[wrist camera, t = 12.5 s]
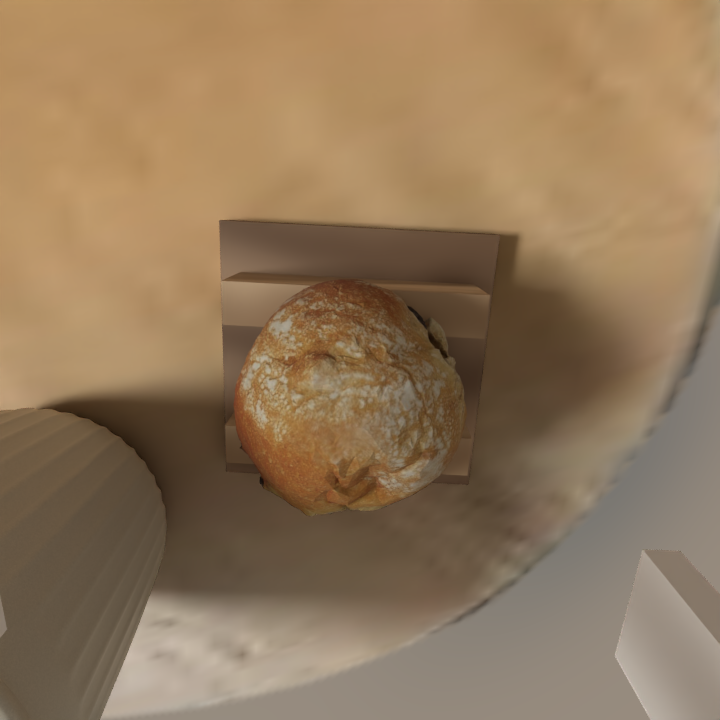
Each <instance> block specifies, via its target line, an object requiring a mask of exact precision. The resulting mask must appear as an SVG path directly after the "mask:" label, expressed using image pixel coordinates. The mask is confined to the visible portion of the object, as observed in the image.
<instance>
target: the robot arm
mask: <svg viewBox="0 0 720 720" xmlns="http://www.w3.org/2000/svg"><path fill="white" fill-rule="evenodd" d="M6 630H7V627H6V622H5V617H4V612H3V607H2V602H1V597H0V637H1V636H2V635H3V634H4V633H5V631H6ZM615 657H616V659H617V661H618V663H619V664H620V666H621V668H622V669H623V671H624V673H625V675H626V677H627V679H628V680H629V682H630V684H631V686H632V688H633V689H634V691H635V693H636V695H637V697H638V698H639V700H640V701H641V703H642V705H643V707H644V709H645V711H646V712H647V714H648V716H649V718H650V720H720V594H719V593H718V592H717V591H716V589H715V588H714V587H713V586H712V585H711V584H710V583H709V582H708V581H707V580H706V578H705V577H704V576H703V575H702V574H701V573H700V572H699V571H698V570H697V569H696V568H695V566H694V565H693V564H692V563H691V562H690V561H689V560H688V559H687V558H686V557H685V556H684V554H682V552H681V551H669V550H648V549H643V550H642V553H641V557H640V561H639V565H638V569H637V573H636V576H635V580H634V584H633V588H632V592H631V595H630V599H629V603H628V607H627V611H626V615H625V619H624V622H623V626H622V630H621V634H620V638H619V641H618V645H617V649H616V653H615Z"/></svg>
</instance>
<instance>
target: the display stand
mask: <svg viewBox="0 0 720 720" xmlns="http://www.w3.org/2000/svg"><path fill="white" fill-rule="evenodd" d="M219 224H220V260H221V303H222V332H223V368H224V404H225V447H226V472H244V473H260V472H259V471H258V469H257V468H256V466H255V465H254V463H253V461H252V460H251V458H249V456H248V454H246V453H245V452H244V451H243V450H242V449H240V447H241V441H240V440H239V438H238V434H237V431H236V423H235V412H234V406H233V404H234V397H235V387H236V383H237V380H238V377H239V375H240V372H241V370H242V368H243V365H244V363H245V361H246V357H247V355H248V353H249V351H250V350H251V348H252V347H253V345H254V343H255V340H256V338H257V337H258V335H259V334H260V333H261V331H262V329H263V327H264V326H265V324H266V323H267V321H268V320H269V319H270V317H271V316H272V315H273V314H274V313H275V312H276V310H277V309H278V308H279V307H280V306H281V305H282V304H283V303H284V302H285V301H286V300H288V299H289V298H291V297H292V296H293V295H295V294H297V293H299V292H300V291H301V290H303V289H305V288H307V287H310V286H312V285H315V284H318V283H322V282H326V281H330V280H338V279H358V280H363V281H366V282H369V283H371V284H374V285H377V286H379V287H382V288H385V289H388V290H390V291H392V292H393V293H394V294H396V295H398V296H399V297H401V298H402V299H403V300H404V301H405V303H406V305H407V306H410V307H412V308H413V309H414V310H415V311H417V312H418V314H419V315H420V316H421V317H422V318H423V321H424V322H425V321H426V320H427V319H429V318H430V317H431V318H433V319H434V320H435V321H436V322H437V323H438V324H439V325H440V326H441V327H442V329H443V330H444V333H445V336H446V340H447V343H448V355H449V356H451V357H453V358H455V362H456V364H455V370H456V372H457V373H458V375H459V376H460V379H461V382H462V384H463V388H464V401H465V404H466V410H467V417H466V421H465V426H464V430H463V434H462V437H461V440H460V443H459V446H458V449H457V452H456V454H455V456H454V458H453V460H452V461H451V462H450V464H449V465H448V467H447V468H446V469H445V471H444V472H443V473H442V474H441V475H440V476H439V477H437V478H436V479H435V480H434V481H432V482H431V483H447V484H466V485H468V484H469V476H470V468H471V460H472V452H473V444H474V436H475V428H476V420H477V412H478V405H479V397H480V389H481V381H482V373H483V365H484V357H485V349H486V341H487V333H488V325H489V317H490V310H491V302H492V294H493V286H494V278H495V270H496V262H497V254H498V246H499V238H500V235H495V234H477V233H458V232H440V231H421V230H402V229H383V228H364V227H345V226H327V225H308V224H289V223H270V222H251V221H232V220H219Z"/></svg>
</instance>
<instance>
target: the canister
mask: <svg viewBox="0 0 720 720" xmlns="http://www.w3.org/2000/svg"><path fill="white" fill-rule="evenodd" d="M165 515H166V509H165V505H164V503H163V502H162V493H161V490H160V489H159V488H158V486H157V485H156V482H155V476H154V475H153V474H152V473H151V472H150V471H149V469H148V468H147V466H146V462H145V461H144V460H142V459H141V458H140V457H139V456H138V455H137V454H136V452H135V449H134V448H131V447H130V446H128V445H127V444H126V443H125V442H124V441H123V440H122V438H121V437H119V436H116V435H114V434H113V433H111V432H110V431H109V430H108V429H107V427H103V426H99V425H97V424H95V423H94V422H92V421H91V420H90V419H87V418H80V417H77V416H76V415H74V414H72V413H66V412H64V413H62V412H58V411H56V410H53V409H40V410H38V409H34V408H21V409H17V410H2V411H0V597H1V602H2V607H3V612H4V617H5V622H6V627H7V630H6V631H5V633H4V634H3V635H2V636H1V637H0V720H100V718H101V716H102V713H103V711H104V708H105V706H106V703H107V701H108V699H109V696H110V694H111V691H112V689H113V687H114V684H115V682H116V679H117V677H118V675H119V672H120V670H121V667H122V665H123V663H124V660H125V658H126V655H127V653H128V650H129V648H130V645H131V643H132V640H133V638H134V635H135V633H136V630H137V628H138V625H139V622H140V620H141V617H142V614H143V612H144V609H145V606H146V604H147V601H148V598H149V596H150V593H151V590H152V588H153V585H154V582H155V580H156V577H157V574H158V571H159V567H160V564H161V561H162V558H163V554H164V550H165V537H166V533H167V522H166V519H165Z"/></svg>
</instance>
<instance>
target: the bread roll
mask: <svg viewBox="0 0 720 720" xmlns="http://www.w3.org/2000/svg"><path fill="white" fill-rule="evenodd" d="M455 364H456V362H455V358H453V357H451V356H449V355H448V343H447V340H446V336H445V333H444V330H443V329H442V327H441V326H440V325H439V324H438V323H437V322H436V321H435V320H434V319H433V318H431V317H430V318H429V319H427V320H426V321H425V322H424V321H423V318H422V317H421V316H420V315H419V314H418V312H417V311H415V310H414V309H413V308H412V307H410V306H407V305H406V303H405V301H404V300H403V299H402V298H401V297H399V296H398V295H396V294H394V293H393V292H392V291H390V290H388V289H385V288H382V287H379V286H377V285H374V284H371V283H369V282H366V281H363V280H358V279H338V280H330V281H326V282H322V283H318V284H315V285H312V286H310V287H307V288H305V289H303V290H301V291H300V292H299V293H297V294H295V295H293V296H292V297H291V298H289V299H288V300H286V301H285V302H284V303H283V304H282V305H281V306H280V307H279V308H278V309H277V310H276V312H275V313H274V314H273V315H272V316H271V317H270V319H269V320H268V321H267V323H266V324H265V326H264V327H263V329H262V331H261V333H260V334H259V335H258V337H257V338H256V340H255V343H254V345H253V347H252V348H251V350H250V351H249V353H248V355H247V357H246V361H245V363H244V365H243V368H242V370H241V372H240V375H239V377H238V380H237V383H236V387H235V397H234V404H233V406H234V412H235V423H236V431H237V434H238V438H239V440H240V441H241V447H240V449H242V450H243V451H244V452H245V453H246V454H248V456H249V458H251V460H252V461H253V463H254V465H255V466H256V468H257V469H258V471H259V472H260V474H261V477H260V484H261V485H262V486H263V488H264V489H266V490H268V491H270V492H272V493H274V494H275V495H277V496H279V497H281V498H282V499H284V500H285V501H287V502H288V503H289V504H291V505H292V506H294V507H296V508H298V509H300V510H301V511H302V512H303V513H304V514H305V515H307V516H315V515H316V514H320V515H324V514H332V513H334V512H340V511H345V510H346V509H349V510H351V511H352V510H356V509H358V510H360V511H372V510H378V509H380V508H383V507H386V506H387V505H389V504H392V503H395V502H397V501H400V500H402V499H404V498H407V497H409V496H411V495H414V494H415V493H417V492H418V491H420V490H421V489H423V488H425V487H427V486H428V485H429V484H430V483H431V482H432V481H434V480H435V479H436V478H437V477H439V476H440V475H441V474H442V473H443V472H444V471H445V469H446V468H447V467H448V465H449V464H450V462H451V461H452V460H453V458H454V456H455V454H456V452H457V449H458V446H459V443H460V440H461V437H462V434H463V430H464V426H465V421H466V417H467V410H466V404H465V401H464V388H463V384H462V382H461V379H460V376H459V375H458V373H457V372H456V370H455Z"/></svg>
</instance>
